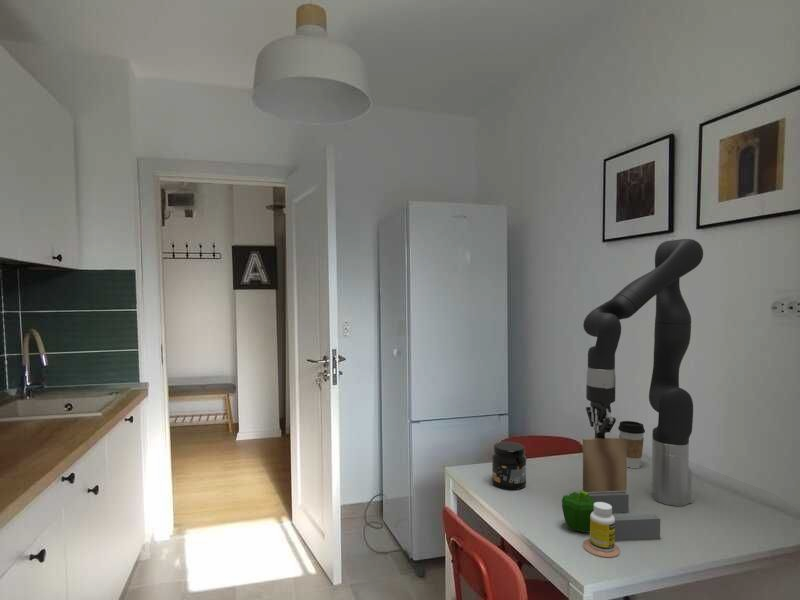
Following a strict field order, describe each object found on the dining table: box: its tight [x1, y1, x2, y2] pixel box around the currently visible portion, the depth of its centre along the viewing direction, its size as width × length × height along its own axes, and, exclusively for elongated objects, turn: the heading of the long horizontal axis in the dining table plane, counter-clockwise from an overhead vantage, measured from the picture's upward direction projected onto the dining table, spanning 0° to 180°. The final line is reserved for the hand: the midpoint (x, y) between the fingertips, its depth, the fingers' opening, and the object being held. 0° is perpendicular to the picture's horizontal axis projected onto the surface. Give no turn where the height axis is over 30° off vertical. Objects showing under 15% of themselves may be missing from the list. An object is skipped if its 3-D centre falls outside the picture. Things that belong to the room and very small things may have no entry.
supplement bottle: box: [589, 502, 616, 552], centre depth 114 cm, size 5×5×10 cm
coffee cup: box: [617, 420, 646, 469], centre depth 168 cm, size 8×8×15 cm
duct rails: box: [587, 491, 661, 542], centre depth 126 cm, size 12×16×5 cm
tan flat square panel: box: [582, 437, 628, 493], centre depth 133 cm, size 12×14×1 cm
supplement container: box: [491, 441, 527, 491], centre depth 152 cm, size 10×10×12 cm
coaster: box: [582, 538, 621, 559], centre depth 114 cm, size 8×8×1 cm
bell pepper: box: [561, 490, 596, 533], centre depth 124 cm, size 8×8×10 cm
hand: (599, 445), depth 136 cm, fingers closed
